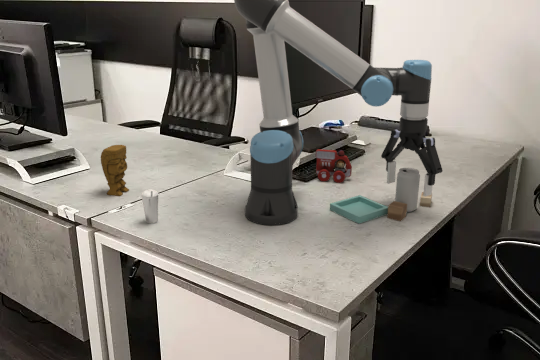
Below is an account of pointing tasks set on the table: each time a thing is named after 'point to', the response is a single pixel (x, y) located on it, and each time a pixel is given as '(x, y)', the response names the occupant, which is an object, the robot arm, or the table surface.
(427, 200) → the beech block
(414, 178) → the beverage can
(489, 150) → the table surface
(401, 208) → the walnut block
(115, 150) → the figurine
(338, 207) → the tray
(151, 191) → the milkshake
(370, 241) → the table surface
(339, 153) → the toy fire truck
